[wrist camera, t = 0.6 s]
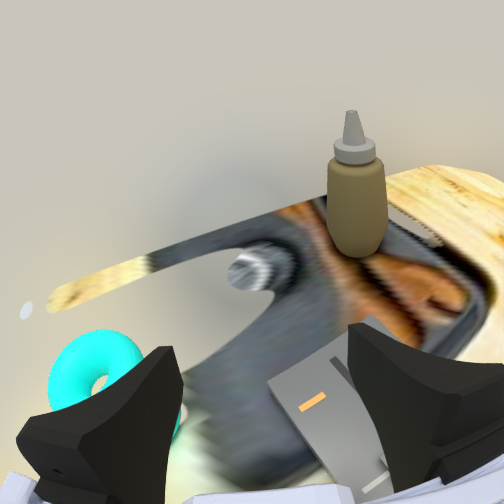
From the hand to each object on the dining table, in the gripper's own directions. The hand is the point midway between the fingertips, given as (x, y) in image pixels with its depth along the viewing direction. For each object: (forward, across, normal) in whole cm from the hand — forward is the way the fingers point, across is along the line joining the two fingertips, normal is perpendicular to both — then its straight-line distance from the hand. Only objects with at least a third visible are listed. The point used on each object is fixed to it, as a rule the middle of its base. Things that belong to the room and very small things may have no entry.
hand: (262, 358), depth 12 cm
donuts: (+12, +13, +15) cm, 23 cm away
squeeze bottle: (+28, -14, +4) cm, 32 cm away
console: (+7, -9, +14) cm, 18 cm away
